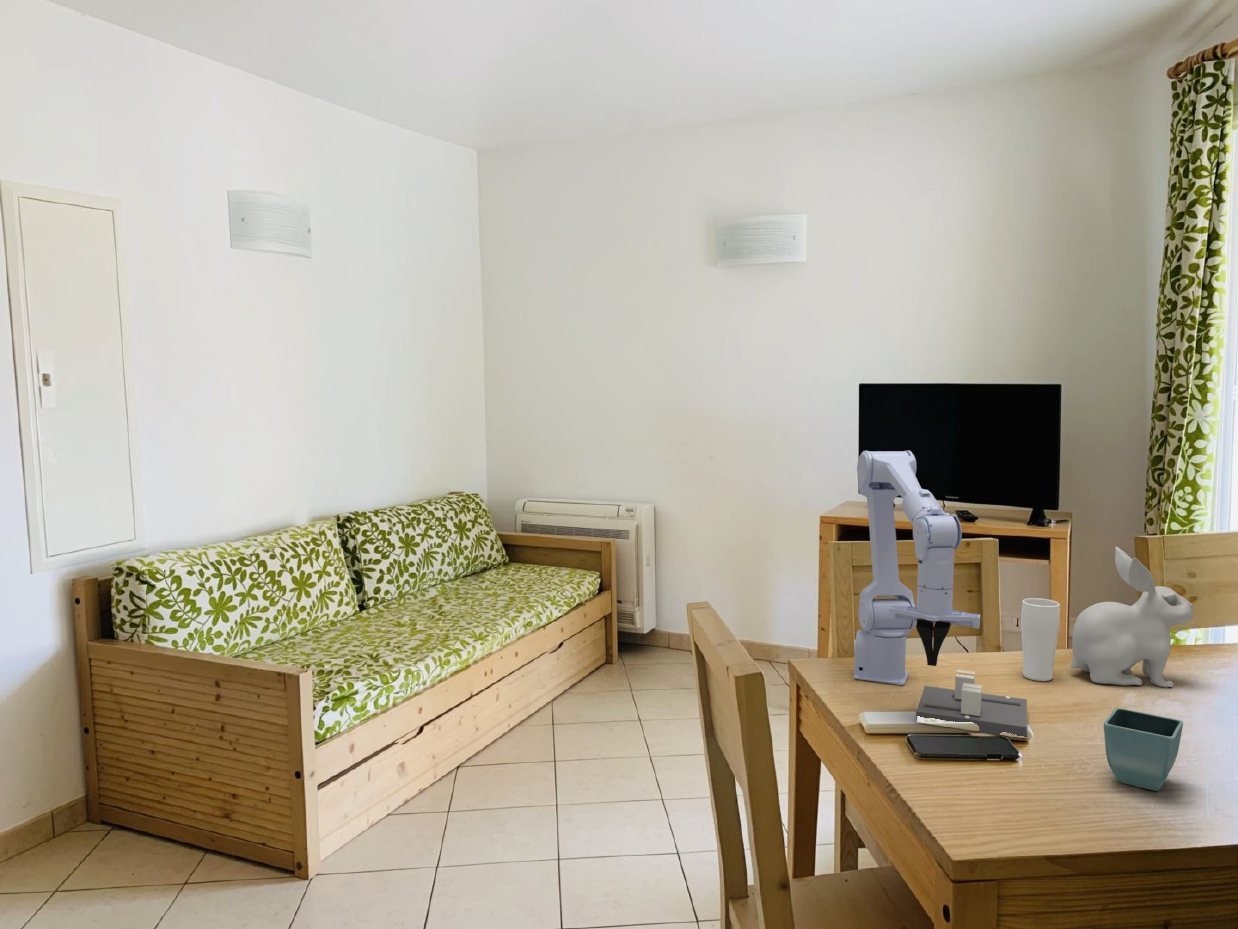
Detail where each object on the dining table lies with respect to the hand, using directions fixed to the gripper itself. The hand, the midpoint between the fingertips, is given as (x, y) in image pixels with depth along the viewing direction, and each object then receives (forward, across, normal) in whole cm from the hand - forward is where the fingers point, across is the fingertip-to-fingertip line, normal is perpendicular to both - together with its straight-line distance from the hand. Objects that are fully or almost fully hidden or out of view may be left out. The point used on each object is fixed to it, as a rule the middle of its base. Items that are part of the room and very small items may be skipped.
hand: (932, 664), depth 154 cm
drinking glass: (+10, +17, +30) cm, 36 cm away
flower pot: (+10, +30, -14) cm, 34 cm away
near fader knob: (+7, +6, 0) cm, 10 cm away
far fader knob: (+7, +5, +7) cm, 11 cm away
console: (+9, +6, +3) cm, 12 cm away
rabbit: (+10, +33, +36) cm, 50 cm away
